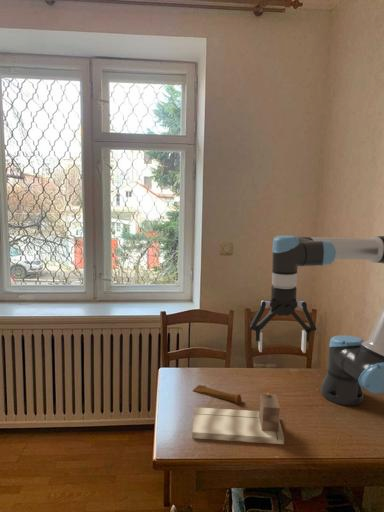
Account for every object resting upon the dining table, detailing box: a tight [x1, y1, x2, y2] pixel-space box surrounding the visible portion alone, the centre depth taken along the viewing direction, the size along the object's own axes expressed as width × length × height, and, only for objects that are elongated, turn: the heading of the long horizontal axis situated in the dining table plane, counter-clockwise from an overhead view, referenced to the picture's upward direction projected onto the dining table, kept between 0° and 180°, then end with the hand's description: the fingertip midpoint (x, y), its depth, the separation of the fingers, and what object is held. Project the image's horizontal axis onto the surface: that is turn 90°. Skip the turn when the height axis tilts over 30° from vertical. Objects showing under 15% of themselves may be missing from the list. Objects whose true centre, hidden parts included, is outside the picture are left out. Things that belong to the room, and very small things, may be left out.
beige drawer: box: [258, 392, 281, 432], centre depth 123 cm, size 5×8×9 cm, turn 176°
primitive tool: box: [192, 384, 242, 406], centre depth 144 cm, size 19×6×4 cm, turn 61°
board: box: [191, 406, 285, 445], centre depth 124 cm, size 28×14×2 cm, turn 86°
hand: (281, 350), depth 122 cm, fingers open, 13 cm apart
